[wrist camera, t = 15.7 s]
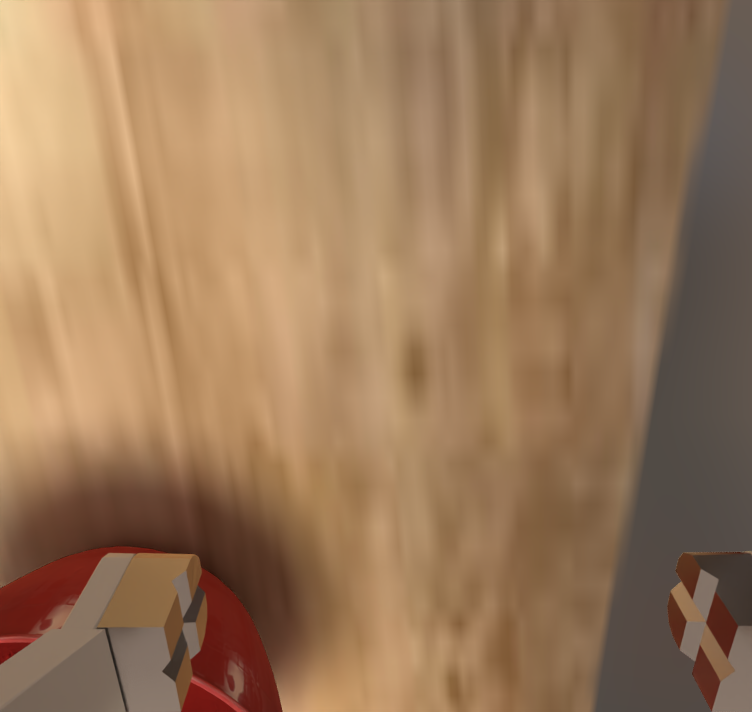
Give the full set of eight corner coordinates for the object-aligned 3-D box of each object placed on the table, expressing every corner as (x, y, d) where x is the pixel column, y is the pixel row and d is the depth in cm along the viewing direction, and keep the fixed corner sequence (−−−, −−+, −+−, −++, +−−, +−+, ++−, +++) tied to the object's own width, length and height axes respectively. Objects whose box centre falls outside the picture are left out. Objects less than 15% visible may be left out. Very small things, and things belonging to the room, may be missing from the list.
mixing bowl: (303, 467, 47) (271, 636, 33) (330, 722, 59) (314, 926, 45) (-69, 478, 48) (-256, 649, 34) (31, 728, 59) (-76, 932, 45)
